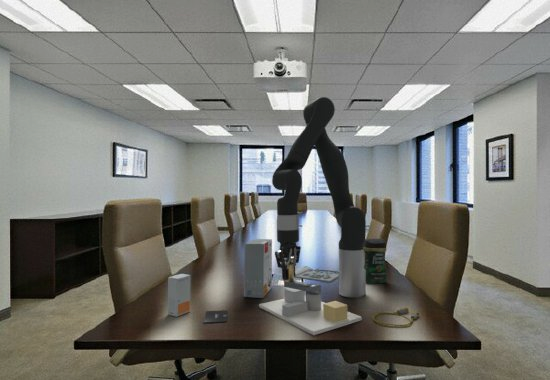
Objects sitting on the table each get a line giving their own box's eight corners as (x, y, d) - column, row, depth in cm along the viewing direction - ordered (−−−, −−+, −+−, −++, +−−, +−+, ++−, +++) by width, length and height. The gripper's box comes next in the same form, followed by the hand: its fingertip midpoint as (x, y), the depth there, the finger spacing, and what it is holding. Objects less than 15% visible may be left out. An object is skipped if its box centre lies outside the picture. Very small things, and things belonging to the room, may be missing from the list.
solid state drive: (227, 312, 111) (227, 310, 111) (227, 323, 101) (227, 321, 101) (206, 313, 110) (206, 311, 110) (203, 324, 100) (203, 322, 100)
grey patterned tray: (283, 271, 158) (303, 264, 175) (283, 277, 158) (303, 269, 175) (329, 277, 146) (346, 268, 163) (329, 283, 146) (346, 274, 162)
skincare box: (176, 317, 106) (176, 278, 106) (167, 314, 108) (167, 277, 108) (191, 311, 111) (191, 274, 111) (182, 309, 113) (181, 273, 113)
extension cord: (433, 326, 98) (433, 319, 98) (383, 331, 95) (383, 323, 95) (409, 312, 110) (408, 305, 110) (364, 315, 107) (363, 309, 107)
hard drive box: (263, 298, 124) (263, 244, 124) (243, 297, 125) (243, 243, 125) (272, 287, 139) (272, 238, 139) (254, 286, 140) (254, 238, 141)
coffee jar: (367, 284, 142) (366, 240, 142) (361, 279, 150) (360, 237, 150) (389, 283, 143) (389, 239, 143) (382, 279, 151) (381, 237, 151)
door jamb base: (303, 297, 125) (302, 280, 125) (361, 320, 102) (361, 300, 102) (259, 307, 115) (259, 289, 115) (313, 335, 91) (313, 313, 92)
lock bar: (324, 291, 110) (323, 267, 110) (315, 294, 106) (315, 270, 106) (288, 284, 119) (288, 262, 119) (279, 287, 115) (279, 265, 115)
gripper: (286, 231, 108) (287, 284, 108) (307, 226, 120) (308, 274, 120) (267, 229, 112) (268, 281, 112) (288, 225, 124) (289, 272, 124)
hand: (288, 277), depth 116 cm, fingers closed on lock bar, 3 cm apart
